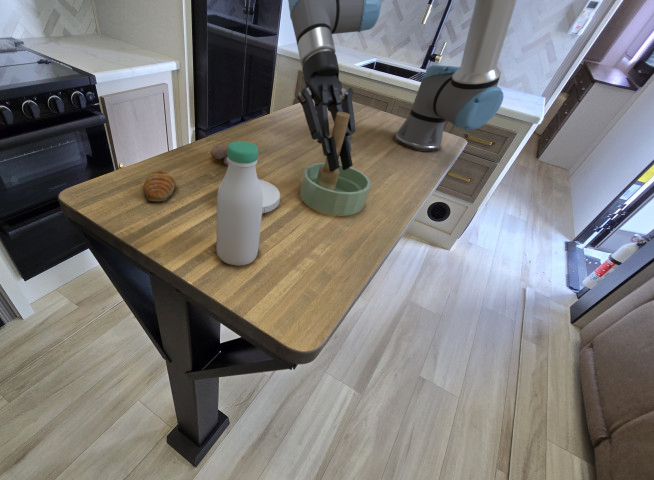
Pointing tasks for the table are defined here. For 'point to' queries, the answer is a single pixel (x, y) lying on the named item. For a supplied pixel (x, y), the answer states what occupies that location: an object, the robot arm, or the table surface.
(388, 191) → the table surface
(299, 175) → the table surface
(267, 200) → the plastic lid
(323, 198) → the bowl
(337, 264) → the table surface
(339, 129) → the pestle
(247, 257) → the milk bottle
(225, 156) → the mushroom
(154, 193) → the pastry
